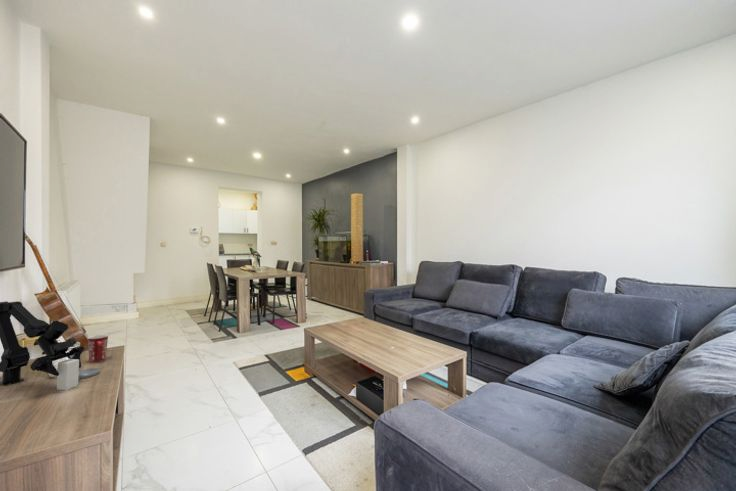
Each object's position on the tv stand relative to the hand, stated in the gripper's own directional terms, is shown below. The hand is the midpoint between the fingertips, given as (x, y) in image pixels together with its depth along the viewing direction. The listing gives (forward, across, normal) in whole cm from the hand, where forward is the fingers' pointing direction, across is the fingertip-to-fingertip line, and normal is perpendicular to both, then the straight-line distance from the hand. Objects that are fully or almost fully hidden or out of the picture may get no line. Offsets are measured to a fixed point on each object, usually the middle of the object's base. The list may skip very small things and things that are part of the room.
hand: (69, 371), depth 140 cm
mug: (-9, +31, +20) cm, 38 cm away
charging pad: (0, +13, +10) cm, 17 cm away
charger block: (+5, 0, +6) cm, 7 cm away
